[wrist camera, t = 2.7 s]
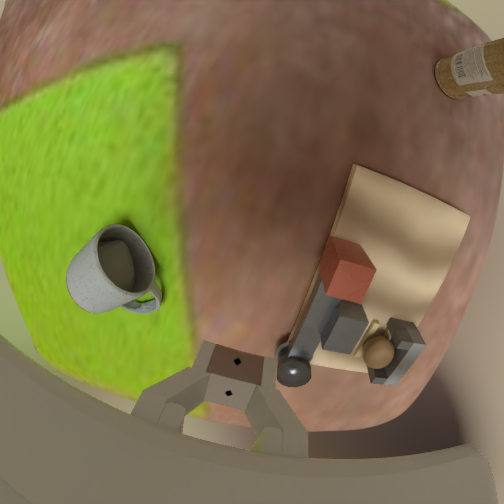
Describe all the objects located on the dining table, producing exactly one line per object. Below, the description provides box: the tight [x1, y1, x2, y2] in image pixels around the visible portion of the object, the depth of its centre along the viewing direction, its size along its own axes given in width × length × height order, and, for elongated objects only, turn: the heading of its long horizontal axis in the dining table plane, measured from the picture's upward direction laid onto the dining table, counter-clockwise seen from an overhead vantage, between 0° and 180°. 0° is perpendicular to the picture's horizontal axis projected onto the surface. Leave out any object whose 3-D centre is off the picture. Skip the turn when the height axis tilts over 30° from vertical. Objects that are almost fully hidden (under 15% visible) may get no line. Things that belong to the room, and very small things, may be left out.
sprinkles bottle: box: [435, 38, 504, 100], centre depth 10 cm, size 5×5×14 cm
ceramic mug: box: [66, 224, 162, 314], centre depth 26 cm, size 11×8×8 cm
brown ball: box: [362, 336, 394, 369], centre depth 25 cm, size 4×4×4 cm
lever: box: [277, 236, 377, 387], centre depth 24 cm, size 16×6×5 cm, turn 167°
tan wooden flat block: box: [275, 164, 471, 385], centre depth 24 cm, size 23×15×6 cm, turn 167°
